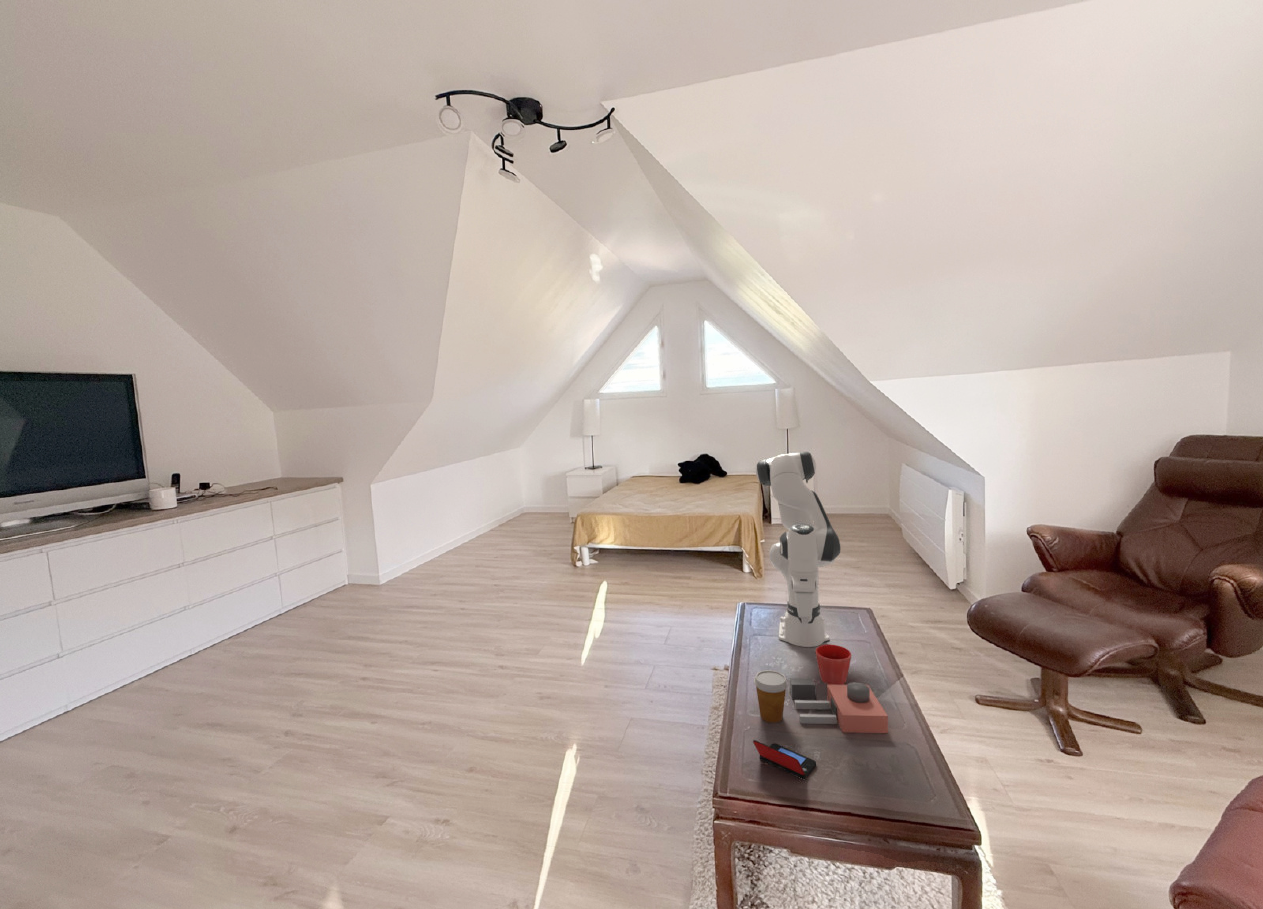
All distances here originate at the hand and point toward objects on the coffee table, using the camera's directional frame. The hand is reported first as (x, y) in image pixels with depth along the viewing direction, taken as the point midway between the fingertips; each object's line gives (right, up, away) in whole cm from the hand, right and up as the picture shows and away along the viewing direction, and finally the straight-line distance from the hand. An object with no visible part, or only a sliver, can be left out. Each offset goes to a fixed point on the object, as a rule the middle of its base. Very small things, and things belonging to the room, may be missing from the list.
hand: (804, 621), depth 165 cm
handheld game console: (-15, -28, -29) cm, 43 cm away
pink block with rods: (+6, -24, -10) cm, 27 cm away
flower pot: (+13, -22, +10) cm, 27 cm away
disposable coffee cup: (-13, -25, -9) cm, 29 cm away
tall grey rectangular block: (0, -24, +1) cm, 24 cm away
